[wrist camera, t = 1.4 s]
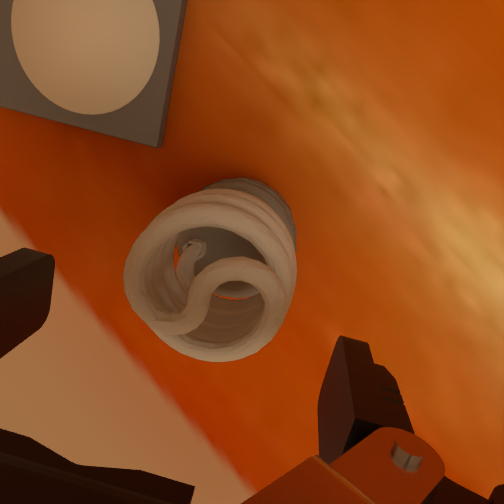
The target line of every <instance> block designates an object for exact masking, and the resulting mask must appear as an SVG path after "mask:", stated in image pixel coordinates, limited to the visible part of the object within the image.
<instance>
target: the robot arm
mask: <svg viewBox="0 0 504 504" xmlns="http://www.w3.org/2000/svg"><path fill="white" fill-rule="evenodd" d="M54 269H55V260H54V257H53V256H52V255H50V254H46V253H42V252H39V251H35V250H32V249H28V248H21V249H19V250H17V251H14V252H12V253H10V254H7V255H5V256H3V257H0V358H2V357H3V356H4V355H6V354H7V353H8V352H9V351H11V350H12V349H13V348H15V347H16V346H17V345H19V344H20V343H21V342H23V341H24V340H25V339H27V338H28V337H29V336H31V335H32V334H33V333H35V332H36V331H37V330H39V329H40V328H41V327H42V325H43V324H44V322H45V321H46V319H47V316H48V314H49V310H50V303H51V295H52V286H53V278H54ZM403 404H404V402H403V399H402V396H401V395H400V390H399V388H398V385H397V382H396V379H395V378H394V377H393V376H392V375H391V374H390V372H389V371H388V370H387V369H386V368H385V367H384V366H381V365H378V364H374V362H373V358H372V355H371V351H370V347H369V344H368V343H366V342H363V341H359V340H355V339H352V338H348V337H345V336H339V338H338V340H337V342H336V345H335V348H334V351H333V354H332V357H331V360H330V363H329V366H328V369H327V372H326V375H325V378H324V381H323V384H322V387H321V390H320V395H319V400H318V436H319V456H318V455H314V456H311V457H310V458H308V459H306V460H305V461H304V462H302V463H301V464H299V465H298V466H296V467H295V468H293V469H292V470H290V471H289V472H287V473H286V474H284V475H283V476H281V477H280V478H278V479H277V480H275V481H274V482H272V483H271V484H269V485H268V486H267V487H265V488H264V489H262V490H261V491H259V492H258V493H256V494H255V495H253V496H252V497H250V498H249V499H247V500H246V501H244V502H243V503H241V504H504V484H502V485H498V486H497V487H495V488H494V490H493V491H492V493H491V495H490V497H489V499H486V498H484V497H482V496H480V495H478V494H476V493H474V492H472V491H470V490H468V489H466V488H464V487H462V486H460V485H459V484H457V483H455V482H453V481H451V480H450V479H448V478H447V477H445V476H444V474H445V466H444V463H443V461H442V459H441V457H440V456H439V454H438V453H437V452H436V451H435V450H434V449H433V448H432V447H431V446H430V445H429V444H428V443H427V442H425V441H424V440H423V439H421V438H419V437H418V436H416V435H415V434H414V431H413V428H412V425H411V422H410V419H409V416H408V414H407V411H406V408H405V405H403ZM194 489H195V486H192V485H188V484H185V483H182V482H178V481H175V480H171V479H168V478H165V477H161V476H158V475H155V474H152V473H148V472H145V471H141V470H131V469H119V468H106V467H95V466H83V465H78V464H75V463H73V462H71V461H69V460H67V459H66V458H64V457H62V456H60V455H59V454H57V453H55V452H54V451H52V450H50V449H49V448H47V447H45V446H43V445H41V444H40V443H38V442H37V441H35V440H33V439H32V438H30V437H26V436H24V435H20V434H17V433H14V432H10V431H7V430H3V429H0V504H191V500H192V496H193V493H194Z"/></svg>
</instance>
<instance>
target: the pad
mask: <svg viewBox="0 0 504 504" xmlns="http://www.w3.org/2000/svg"><path fill="white" fill-rule="evenodd" d="M186 5H187V0H0V107H4V108H8V109H12V110H15V111H19V112H23V113H27V114H31V115H34V116H38V117H42V118H46V119H49V120H53V121H57V122H61V123H65V124H68V125H72V126H76V127H80V128H84V129H87V130H91V131H95V132H99V133H103V134H106V135H110V136H114V137H118V138H121V139H125V140H129V141H133V142H137V143H140V144H144V145H148V146H152V147H156V148H158V147H162V142H163V136H164V130H165V124H166V119H167V113H168V107H169V102H170V96H171V90H172V84H173V79H174V73H175V67H176V62H177V56H178V50H179V45H180V39H181V33H182V27H183V22H184V16H185V10H186Z"/></svg>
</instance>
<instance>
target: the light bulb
mask: <svg viewBox="0 0 504 504" xmlns="http://www.w3.org/2000/svg"><path fill="white" fill-rule="evenodd" d="M175 243H176V244H177V248H178V252H179V256H180V258H179V261H178V264H177V270H176V271H175V267H174V256H173V254H174V249H175ZM295 252H296V228H295V225H294V221H293V218H292V214H291V211H290V207H289V206H288V204H287V203H286V202H285V200H284V199H283V198H282V196H281V195H280V194H279V193H278V192H277V191H276V190H274V189H273V188H271V187H270V186H268V185H267V184H265V183H264V182H262V181H260V180H255V179H249V178H244V177H241V178H230V179H225V180H221V181H218V182H216V183H213V184H211V185H209V186H206V187H204V188H202V189H201V190H200V191H199V192H196V193H193V194H190V195H188V196H186V197H183V198H181V199H179V200H177V201H176V202H175V203H174V204H172V205H171V206H169V207H167V208H166V209H165V210H163V211H162V212H161V213H160V214H159V215H157V216H156V217H155V218H154V219H153V221H152V222H151V223H150V224H149V225H148V227H147V228H146V229H145V230H144V231H143V232H142V233H141V234H140V236H139V237H138V238H137V240H136V241H135V242H134V244H133V246H132V248H131V250H130V253H129V255H128V257H127V260H126V262H125V267H124V273H123V279H124V288H125V293H126V296H127V298H128V300H129V303H130V305H131V307H132V309H133V310H134V311H135V312H136V313H137V314H138V315H139V317H140V318H141V319H142V320H143V321H144V322H145V323H146V324H147V325H148V326H149V327H150V328H151V329H152V330H153V331H154V332H155V333H156V335H157V336H158V337H159V338H160V339H161V340H163V341H164V342H165V343H166V344H168V345H169V346H170V347H171V348H173V349H175V350H177V351H178V352H180V353H182V354H184V355H187V356H190V357H193V358H195V359H198V360H204V361H211V362H225V361H234V360H238V359H241V358H244V357H246V356H249V355H252V354H254V353H256V352H257V351H258V350H260V349H261V348H262V347H263V346H265V345H266V344H267V343H268V342H270V341H271V340H272V339H273V337H274V336H275V334H276V333H277V331H278V330H279V328H280V326H281V324H282V323H283V321H284V319H285V315H286V313H287V311H288V309H289V306H290V303H291V300H292V297H293V292H294V289H295V284H296V278H297V265H296V257H295ZM212 292H213V293H215V294H217V295H220V296H227V297H234V298H243V297H249V298H246V299H241V300H229V299H225V298H221V297H218V296H216V295H214V294H212ZM250 296H252V297H250Z"/></svg>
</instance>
